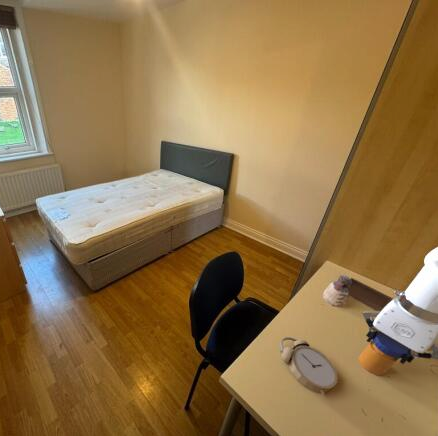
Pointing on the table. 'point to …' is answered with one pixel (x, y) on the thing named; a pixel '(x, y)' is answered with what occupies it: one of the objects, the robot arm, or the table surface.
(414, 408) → the table surface
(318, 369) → the alarm clock
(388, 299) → the tray
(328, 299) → the figurine
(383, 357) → the jar
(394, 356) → the lid
